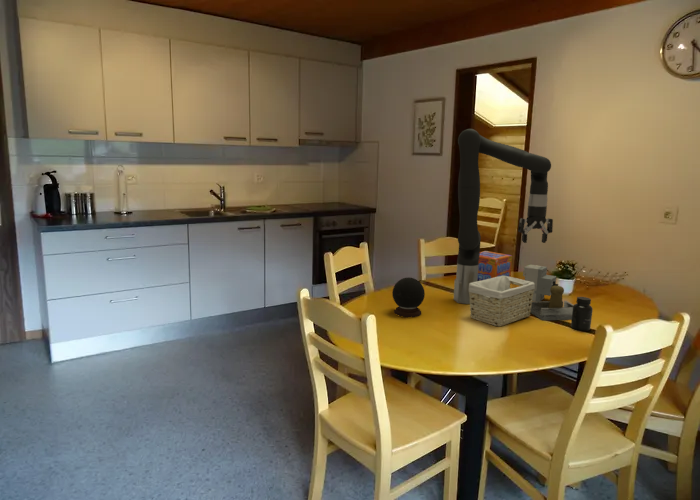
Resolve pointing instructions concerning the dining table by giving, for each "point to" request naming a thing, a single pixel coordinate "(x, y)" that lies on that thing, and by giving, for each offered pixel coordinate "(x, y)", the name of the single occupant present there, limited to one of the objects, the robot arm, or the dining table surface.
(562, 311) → the grey wooden tray
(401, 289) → the black ball on stand
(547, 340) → the dining table surface
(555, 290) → the cork
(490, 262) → the game box
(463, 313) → the dining table surface
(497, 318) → the storage basket
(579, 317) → the supplement bottle
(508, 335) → the dining table surface
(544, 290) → the circuit breaker
